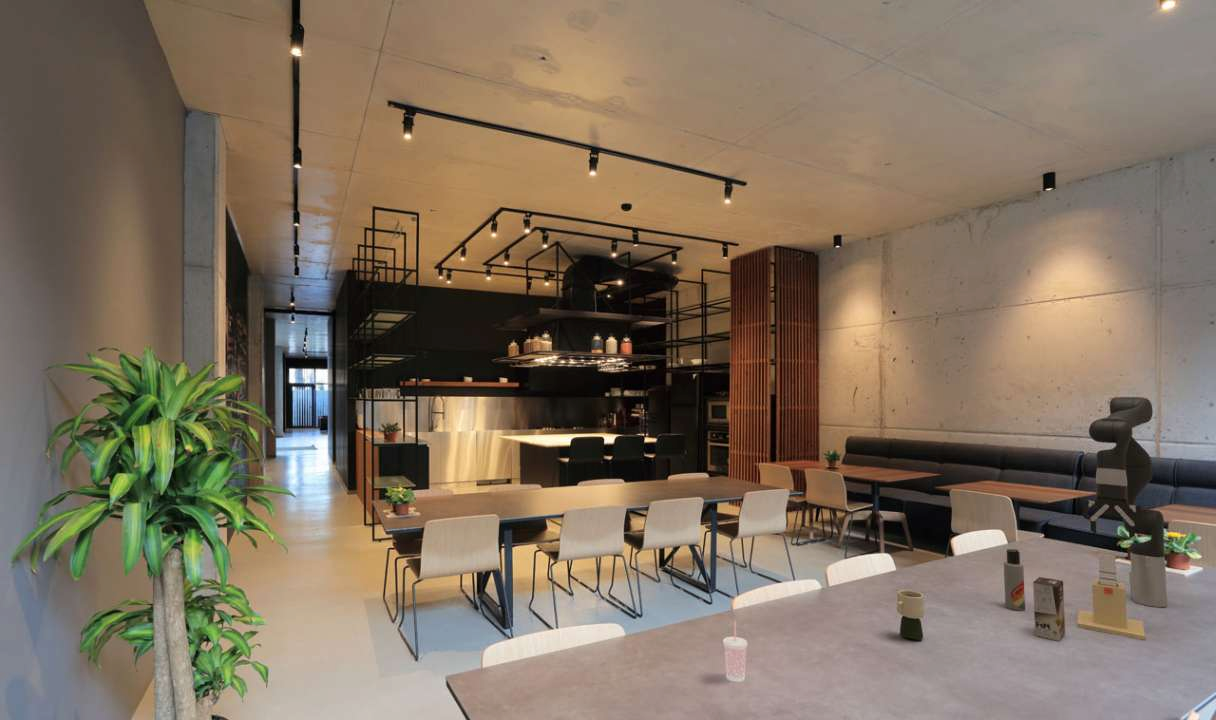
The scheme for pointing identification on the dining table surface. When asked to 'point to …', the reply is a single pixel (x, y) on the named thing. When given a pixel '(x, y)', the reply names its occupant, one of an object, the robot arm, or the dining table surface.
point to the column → (1107, 570)
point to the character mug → (910, 613)
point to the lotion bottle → (1014, 581)
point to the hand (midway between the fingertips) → (1112, 535)
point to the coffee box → (1049, 608)
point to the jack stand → (1110, 612)
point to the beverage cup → (735, 657)
